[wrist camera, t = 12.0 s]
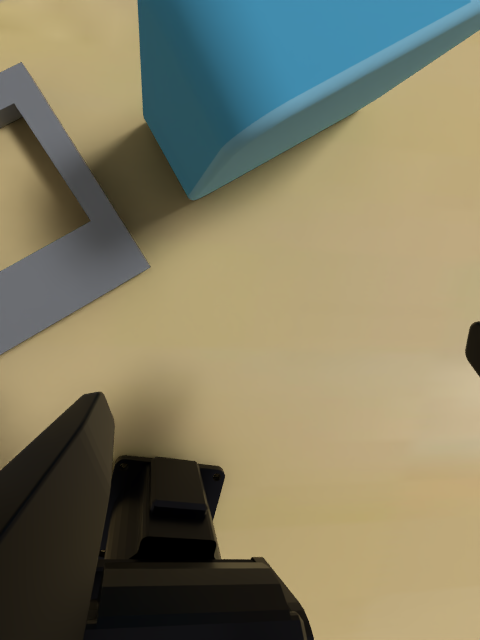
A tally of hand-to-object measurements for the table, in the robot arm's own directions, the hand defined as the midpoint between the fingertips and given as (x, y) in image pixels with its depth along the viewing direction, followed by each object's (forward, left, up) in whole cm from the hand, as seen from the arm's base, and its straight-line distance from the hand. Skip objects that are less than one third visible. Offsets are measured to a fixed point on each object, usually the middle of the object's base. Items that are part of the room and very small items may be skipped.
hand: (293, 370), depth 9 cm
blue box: (+11, 0, -13) cm, 17 cm away
